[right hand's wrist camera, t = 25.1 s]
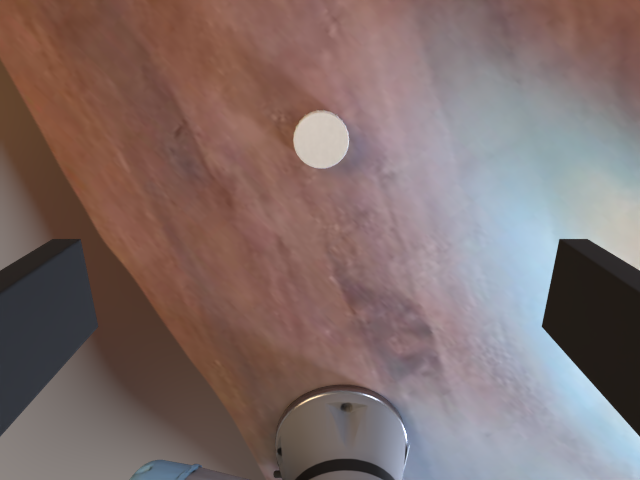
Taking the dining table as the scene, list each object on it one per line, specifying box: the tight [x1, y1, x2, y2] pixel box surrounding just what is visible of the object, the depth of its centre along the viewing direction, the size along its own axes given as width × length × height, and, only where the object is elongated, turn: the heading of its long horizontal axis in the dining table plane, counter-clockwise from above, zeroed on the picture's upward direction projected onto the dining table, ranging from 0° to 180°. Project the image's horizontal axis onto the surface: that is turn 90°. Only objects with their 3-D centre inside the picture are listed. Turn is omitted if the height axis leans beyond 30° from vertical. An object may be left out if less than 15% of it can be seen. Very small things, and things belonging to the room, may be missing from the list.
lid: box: [293, 110, 349, 168], centre depth 39 cm, size 5×5×2 cm
